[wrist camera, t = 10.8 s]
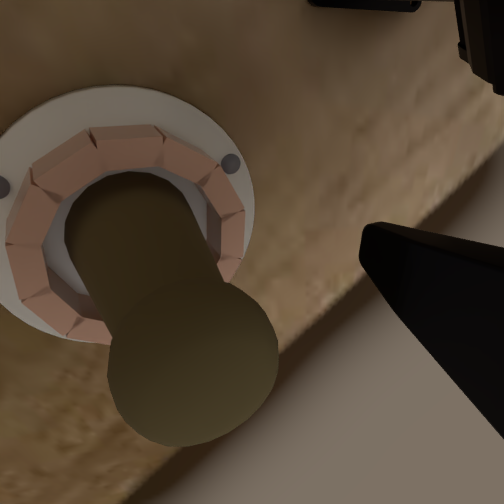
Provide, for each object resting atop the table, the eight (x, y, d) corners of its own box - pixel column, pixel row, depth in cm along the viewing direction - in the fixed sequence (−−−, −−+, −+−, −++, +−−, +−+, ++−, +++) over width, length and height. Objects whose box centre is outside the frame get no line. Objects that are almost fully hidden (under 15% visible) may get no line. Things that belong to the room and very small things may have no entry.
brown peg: (173, 291, 23) (266, 465, 15) (51, 280, 20) (78, 496, 11) (209, 186, 21) (341, 317, 13) (79, 156, 18) (139, 304, 9)
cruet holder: (254, 82, 20) (282, 92, 18) (243, 304, 27) (263, 331, 25) (-76, 87, 15) (-91, 103, 13) (8, 360, 22) (7, 401, 20)
